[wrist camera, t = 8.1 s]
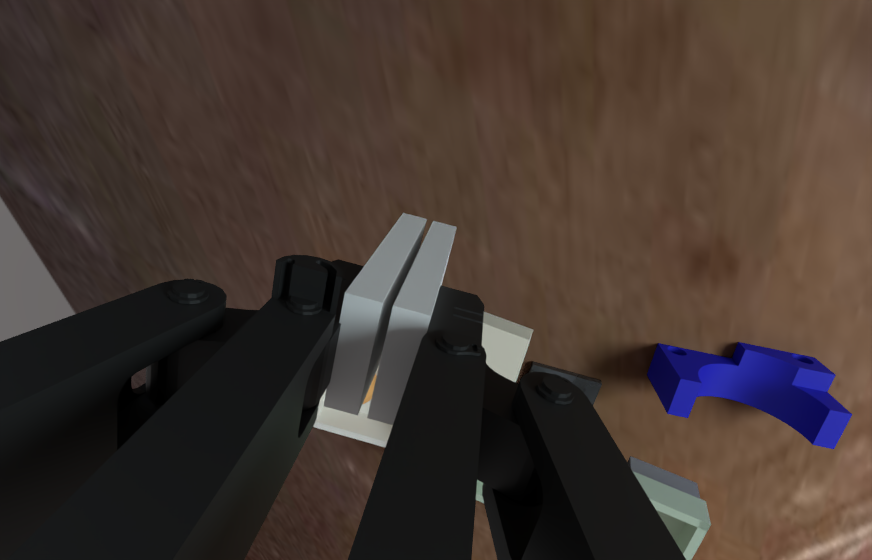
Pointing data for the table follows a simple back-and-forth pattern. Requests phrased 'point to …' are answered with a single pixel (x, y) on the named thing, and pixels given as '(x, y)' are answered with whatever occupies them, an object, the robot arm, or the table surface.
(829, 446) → the cable clip
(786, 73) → the table surface
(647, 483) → the lever
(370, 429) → the open white tray
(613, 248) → the table surface
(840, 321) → the table surface
